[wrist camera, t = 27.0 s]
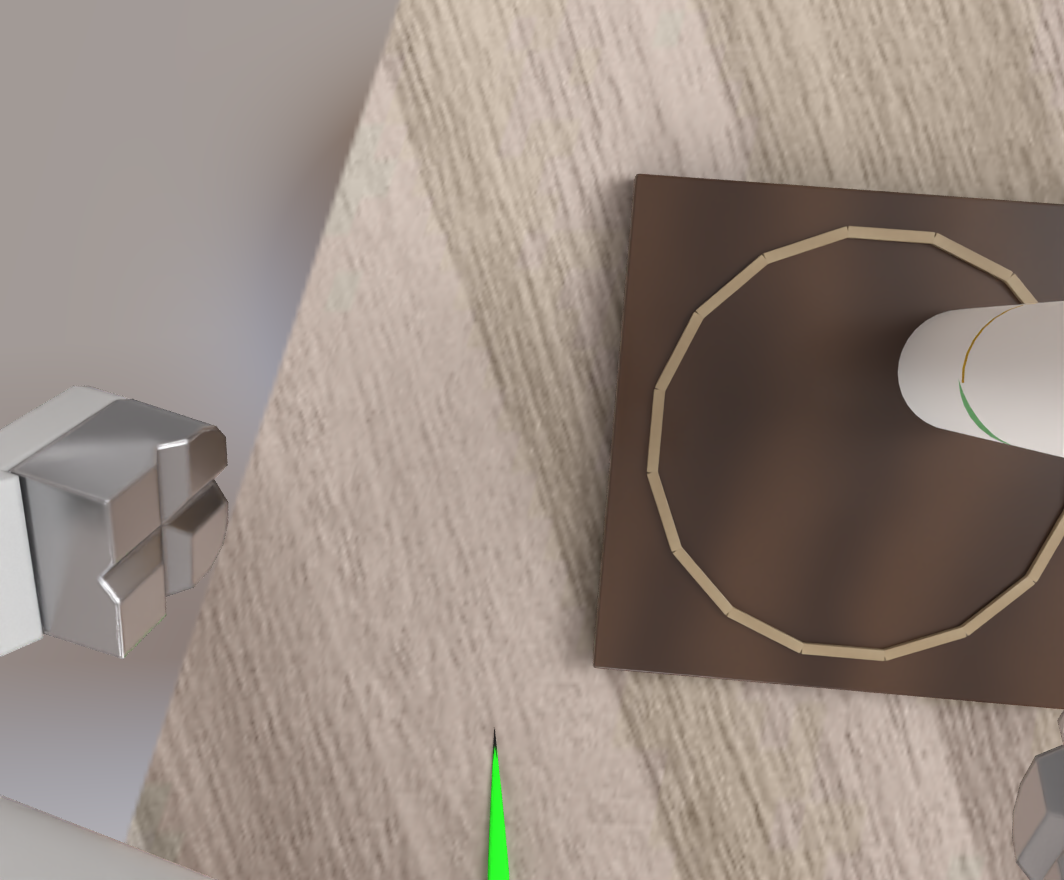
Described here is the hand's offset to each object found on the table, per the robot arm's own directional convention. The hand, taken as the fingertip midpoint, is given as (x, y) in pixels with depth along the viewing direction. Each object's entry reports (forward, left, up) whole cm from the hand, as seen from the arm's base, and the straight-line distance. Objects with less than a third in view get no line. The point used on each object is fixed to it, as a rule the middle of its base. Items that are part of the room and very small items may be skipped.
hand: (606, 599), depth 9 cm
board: (+10, -1, -27) cm, 29 cm away
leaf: (-1, -19, -27) cm, 34 cm away
